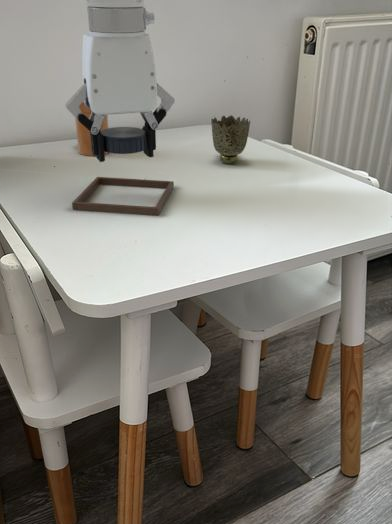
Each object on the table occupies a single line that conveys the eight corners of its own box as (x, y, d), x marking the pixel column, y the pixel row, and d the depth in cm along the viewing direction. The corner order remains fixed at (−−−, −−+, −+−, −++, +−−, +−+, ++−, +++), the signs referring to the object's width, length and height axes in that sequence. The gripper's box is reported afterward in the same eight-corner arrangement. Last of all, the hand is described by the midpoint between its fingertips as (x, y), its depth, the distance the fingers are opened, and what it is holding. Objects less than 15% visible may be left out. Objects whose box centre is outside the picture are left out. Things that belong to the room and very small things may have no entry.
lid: (130, 156, 81) (129, 140, 79) (91, 150, 83) (89, 133, 82) (156, 145, 86) (155, 130, 84) (118, 140, 88) (117, 124, 87)
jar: (74, 155, 112) (68, 101, 107) (83, 147, 118) (79, 95, 112) (105, 156, 112) (101, 103, 106) (113, 148, 117) (110, 97, 111)
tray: (73, 215, 85) (71, 202, 84) (98, 188, 96) (97, 176, 94) (158, 221, 83) (158, 208, 82) (173, 193, 94) (173, 181, 93)
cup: (225, 169, 106) (227, 125, 101) (202, 160, 111) (203, 117, 106) (255, 163, 109) (258, 120, 105) (231, 155, 114) (233, 113, 110)
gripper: (168, 20, 81) (169, 146, 91) (47, 22, 75) (63, 156, 85) (186, 24, 75) (186, 158, 85) (57, 26, 70) (73, 169, 80)
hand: (124, 156), depth 85 cm, fingers closed on lid, 7 cm apart
